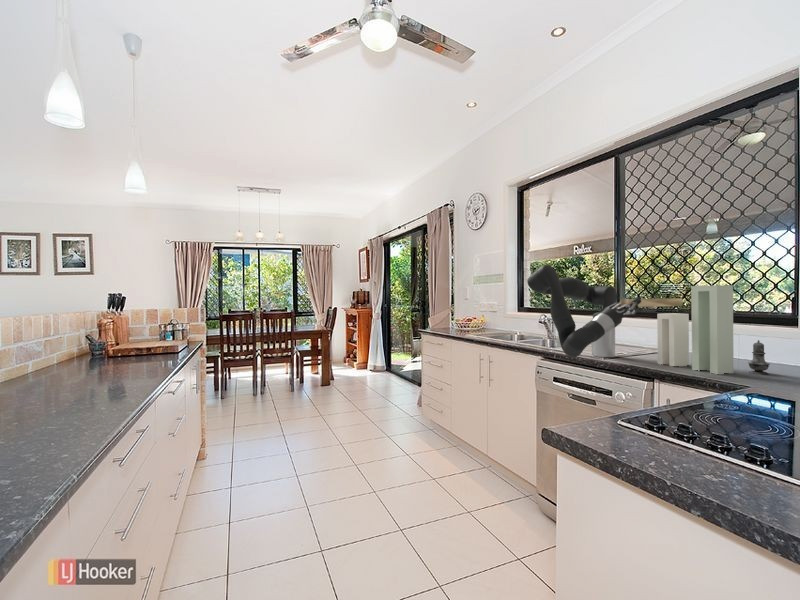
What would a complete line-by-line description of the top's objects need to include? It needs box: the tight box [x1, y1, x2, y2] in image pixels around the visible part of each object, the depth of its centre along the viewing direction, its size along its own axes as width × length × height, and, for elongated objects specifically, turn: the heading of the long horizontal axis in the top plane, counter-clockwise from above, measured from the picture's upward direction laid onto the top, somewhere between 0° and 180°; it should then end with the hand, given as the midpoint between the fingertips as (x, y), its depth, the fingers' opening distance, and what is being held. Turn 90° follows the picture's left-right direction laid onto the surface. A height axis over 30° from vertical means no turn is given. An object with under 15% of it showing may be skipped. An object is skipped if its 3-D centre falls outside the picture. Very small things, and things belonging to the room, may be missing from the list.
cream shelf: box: [656, 312, 690, 367], centre depth 155 cm, size 7×8×21 cm
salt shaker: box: [747, 339, 771, 376], centre depth 137 cm, size 6×6×12 cm
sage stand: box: [690, 284, 735, 375], centre depth 141 cm, size 9×8×32 cm
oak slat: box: [620, 298, 683, 308], centre depth 152 cm, size 4×28×3 cm, turn 106°
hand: (635, 299), depth 150 cm, fingers closed on oak slat, 3 cm apart
